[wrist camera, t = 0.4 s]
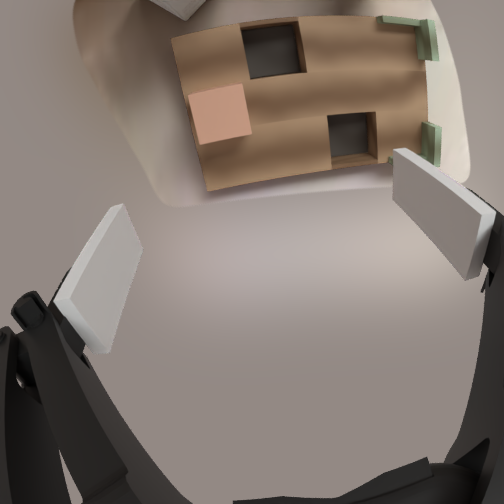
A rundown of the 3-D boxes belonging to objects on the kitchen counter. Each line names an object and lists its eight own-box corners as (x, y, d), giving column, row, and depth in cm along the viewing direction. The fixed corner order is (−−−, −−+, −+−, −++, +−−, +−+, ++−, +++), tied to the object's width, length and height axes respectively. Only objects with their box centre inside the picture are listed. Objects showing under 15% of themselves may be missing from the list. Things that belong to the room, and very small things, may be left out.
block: (192, 92, 28) (187, 95, 25) (240, 81, 28) (242, 83, 24) (203, 136, 31) (199, 144, 27) (249, 126, 30) (252, 134, 27)
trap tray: (175, 40, 27) (164, 35, 22) (407, 23, 26) (434, 20, 21) (209, 182, 37) (206, 202, 32) (415, 151, 36) (439, 166, 31)
